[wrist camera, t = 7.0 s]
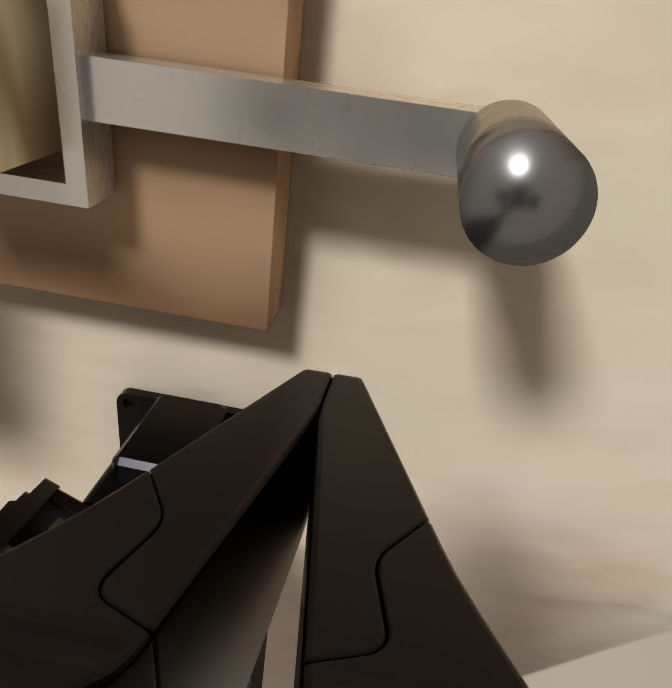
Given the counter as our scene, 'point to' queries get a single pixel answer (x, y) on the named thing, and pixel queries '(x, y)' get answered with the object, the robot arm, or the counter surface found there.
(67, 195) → the sled
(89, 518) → the robot arm
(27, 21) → the maple block
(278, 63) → the tunnel deck
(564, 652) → the counter surface
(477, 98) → the counter surface
